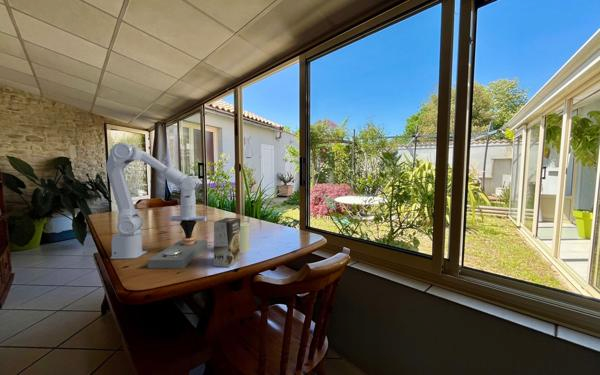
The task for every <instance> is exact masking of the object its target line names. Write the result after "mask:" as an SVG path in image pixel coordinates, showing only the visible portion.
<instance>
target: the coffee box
mask: <svg viewBox="0 0 600 375" xmlns="http://www.w3.org/2000/svg"><path fill="white" fill-rule="evenodd" d="M240 222H241V218H240V217H239V218H238V217H225V218H221V219H218V220H215V221H213V266H214V267H221V268H222V267H223V268H230V267H232V266H233V265H234V264H236V263H237V262H238V261H240V260H241V253H240Z"/></svg>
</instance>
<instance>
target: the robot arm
mask: <svg viewBox="0 0 600 375" xmlns="http://www.w3.org/2000/svg"><path fill="white" fill-rule="evenodd" d="M134 161H139V162H143V163H145V164H147V165H148V166H150V167H151V168H153V169H155V170H156V171H159V172H161V174H162V178H163V179H165V180H167V181H169V182H170V183H171V184H173V185H174V186H176V187H179V189H180V215H172V216H170V217H169V222H180V224H179V226H180V227H181V228H182V231H183V232H184V237H186V239H189V238H191V236H192V235H193V231H194V229H195V226H196V224H197V222H204V223H205V222H207V215H196V214H197V211H196V210H197V208H196V205H197V204H196V201H197V198H196V189H195V188H196V187H197V186H196V181H195V180H194V179H193V177H189V175H188V174H187V173H183V172H182V171H180V170H179V168H178V166H172V165H171V166H170V165H169V166H167V165H165V164H164V163H162V162H161V161H159V160H158V159H157V158H155V156H154V157H153V156H152V155H151V154H150V153H148V152H146V151H145V150H143V149H140V148H138V147H136V146H134V145H131V144H128V143H126V142H117V143H115V145H113V146H112V147H111V148H110V149H109V156H108V158H107V162H106V164H105V168H106V173H107V176H108V179H109V184H110V186H111V190H112V192H113V198H114V200H115V203H116V208H117V211H118V214H117V226H116V227H117V231H118V233H116V234H114V236H112V239H111V256H110V259H113V260H114V259H115V260H116V259H120V260H121V259H137V258H139V257H141V256H143V255H145V254H147V253H148V251H147V250H143V235H142V234H143V231H142V230H141V228H142V227H143V224H144V221H143V218H142V217H141V216H140V214H139V213H138V210H137V209H136V208H135V205H134V202H133V198H132V195H131V191H130V188H129V184H128V181H127V178H126V173H125V168H127V167H128V166H129V164H130V163H132V162H134Z"/></svg>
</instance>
